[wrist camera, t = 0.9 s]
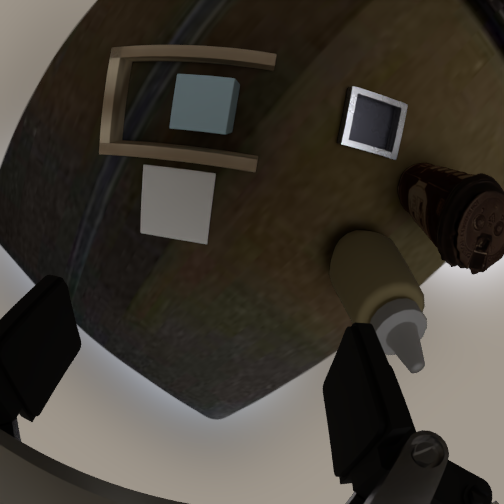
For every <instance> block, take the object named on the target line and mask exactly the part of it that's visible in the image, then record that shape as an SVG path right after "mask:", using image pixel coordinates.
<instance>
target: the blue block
mask: <svg viewBox="0 0 504 504" xmlns="http://www.w3.org/2000/svg"><path fill="white" fill-rule="evenodd" d="M239 89H240V84H239V83H238V82H237V80H236V79H235V78H227V77H217V76H206V75H192V74H177V79H176V85H175V91H174V98H173V104H172V111H171V119H170V127H169V128H171V129H182V130H192V131H201V132H210V133H218V134H225V135H226V134H228V133H231V132H232V131H233V124H234V118H235V112H236V106H237V101H238V95H239Z"/></svg>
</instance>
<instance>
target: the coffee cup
mask: <svg viewBox="0 0 504 504" xmlns="http://www.w3.org/2000/svg"><path fill="white" fill-rule="evenodd" d="M398 194H399V198H400V202H401V204H402V206H403V207H404V209H405V210H406V211H408V212H409V213H410V214H411V216H412V218H413V219H414V221H415V222H416V223H417V224H418V225H419V226H420V227H421V229H422V230H423V231H424V232H425V233H426V235H427V236H428V237H429V238H430V240H431V241H432V242H433V244H434V245H435V246H436V247H437V248H438V251H439V253H440V254H441V259H442V260H445V261H446V262H447V263H448V264H450V265H451V267H453V266H456V265H458V266H459V267H460V268H467V269H468V268H469V269H470V270H471V273H472V274H477V273H478V272H484V271H485V270H487V268H489V267H490V266H491V265H493V264H494V263H495V262H497V261H498V260H499V259H501V258H502V256H503V255H504V191H503V189H502V188H501V186H500V185H499V184H498V183H497V182H496V181H495V180H494V178H492V177H490V176H488V175H486V174H477V175H472V174H467V173H465V172H460V171H456V170H453V169H449V168H446V167H441V166H435V165H432V164H429V163H419V164H415V165H413V166H411V167H409V168H408V169H407V170H405V171H404V173H403V175H402V177H401V179H400V182H399V186H398Z"/></svg>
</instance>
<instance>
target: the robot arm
mask: <svg viewBox="0 0 504 504" xmlns="http://www.w3.org/2000/svg"><path fill="white" fill-rule="evenodd" d="M80 348H81V339H80V336H79V332H78V329H77V325H76V321H75V317H74V313H73V309H72V305H71V300H70V296H69V291H68V287H67V284H66V283H65V282H64V280H63V278H61V277H57V276H53V275H47V276H45V277H44V278H43V279H42V280H41V281H40V282H39V283H37V284H36V285H35V286H34V287H33V288H32V289H31V290H30V291H29V292H28V293H27V294H26V295H25V296H24V297H23V298H21V299H20V301H18V302H17V304H15V305H14V306H13V307H12V308H11V309H10V310H9V311H8V312H7V313H6V314H5V315H4V316H3V317H2V318H1V319H0V504H187V503H182V502H177V501H173V500H168V499H164V498H160V497H155V496H152V495H148V494H144V493H141V492H137V491H134V490H130V489H127V488H124V487H121V486H118V485H115V484H111V483H109V482H106V481H103V480H101V479H98V478H95V477H93V476H90V475H88V474H85V473H83V472H80V471H78V470H76V469H74V468H71V467H69V466H67V465H65V464H62V463H60V462H58V461H56V460H54V459H52V458H50V457H48V456H46V455H44V454H42V453H40V452H38V451H36V450H35V449H33V448H31V447H29V446H27V445H26V444H24V443H22V442H21V439H20V434H19V428H18V422H17V416H18V414H20V415H21V416H22V417H24V418H25V419H27V420H29V421H31V422H33V420H34V418H35V417H36V416H38V415H40V413H41V412H42V410H43V408H44V406H45V405H46V403H47V401H48V400H49V398H50V396H51V395H52V393H53V391H54V390H55V388H56V386H57V385H58V383H59V382H60V380H61V378H62V377H63V375H64V373H65V372H66V370H67V369H68V367H69V366H70V364H71V362H72V361H73V360H74V358H75V357H76V355H77V354H78V352H79V350H80ZM323 395H324V402H325V409H326V416H327V423H328V430H329V437H330V444H331V452H332V460H333V468H334V474H335V476H337V477H339V478H340V484H347V483H352V484H353V491H354V493H353V494H352V496H351V497H350V498H349V500H348V501H347V502H346V504H499V503H498V502H497V501H495V502H493V503H492V502H491V501H492V491H491V488H490V486H489V484H488V483H487V482H486V481H485V480H484V479H482V478H480V477H478V476H476V475H474V474H473V473H471V472H469V471H467V470H465V469H464V468H462V467H460V466H458V465H456V464H455V463H453V462H451V461H449V460H448V457H449V452H448V447H447V445H446V443H445V441H444V440H443V439H442V438H441V437H440V436H439V435H437V434H436V433H433V432H431V431H423V430H422V431H418V432H416V430H415V427H414V424H413V422H412V419H411V416H410V413H409V410H408V408H407V405H406V402H405V399H404V397H403V394H402V392H401V389H400V386H399V383H398V381H397V379H396V376H395V373H394V371H393V369H392V367H391V366H390V365H389V363H388V361H387V358H386V355H385V353H384V350H383V348H382V346H381V343H380V341H379V338H378V336H377V334H376V331H375V329H374V327H373V325H372V324H370V323H357V322H355V323H353V324H352V326H351V327H347V328H346V330H345V333H344V335H343V338H342V341H341V343H340V346H339V348H338V350H337V353H336V355H335V358H334V360H333V363H332V365H331V367H330V370H329V372H328V374H327V376H326V379H325V381H324V384H323Z"/></svg>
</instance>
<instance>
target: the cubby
mask: <svg viewBox="0 0 504 504" xmlns="http://www.w3.org/2000/svg"><path fill="white" fill-rule="evenodd" d="M276 55H277V54H273V53H267V52H260V51H253V50H245V49H236V48H226V47H214V46H196V45H142V46H125V47H113V48H112V50H111V56H110V61H109V67H108V73H107V79H106V86H105V93H104V101H103V110H102V120H101V131H100V145H99V154H106V155H120V156H133V157H144V158H154V159H163V160H172V161H181V162H189V163H197V164H204V165H211V166H218V167H225V168H232V169H238V170H244V171H250V172H256V168H257V162H258V156H256V155H250V154H244V153H238V152H231V151H224V150H217V149H210V148H202V147H194V146H185V145H176V144H165V143H154V142H142V141H127V140H122V138H123V127H124V117H125V108H126V100H127V93H128V86H129V79H130V73H131V67H132V62H135V61H180V62H201V63H214V64H225V65H234V66H243V67H250V68H258V69H264V70H270V71H274V67H275V62H276Z"/></svg>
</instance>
